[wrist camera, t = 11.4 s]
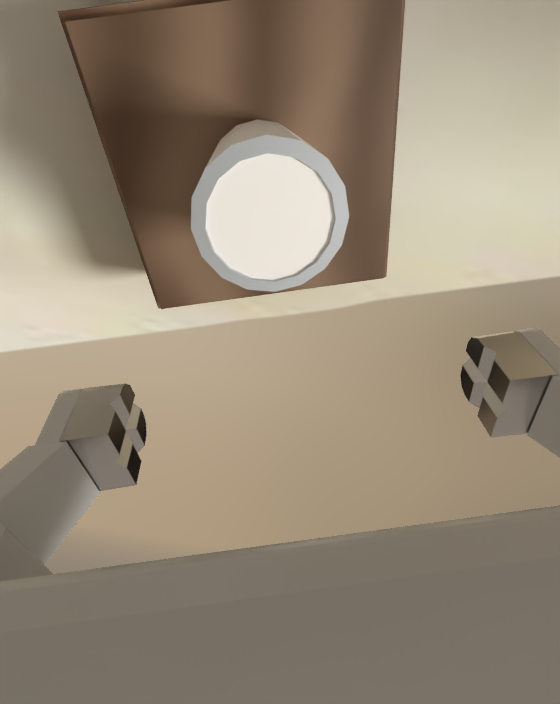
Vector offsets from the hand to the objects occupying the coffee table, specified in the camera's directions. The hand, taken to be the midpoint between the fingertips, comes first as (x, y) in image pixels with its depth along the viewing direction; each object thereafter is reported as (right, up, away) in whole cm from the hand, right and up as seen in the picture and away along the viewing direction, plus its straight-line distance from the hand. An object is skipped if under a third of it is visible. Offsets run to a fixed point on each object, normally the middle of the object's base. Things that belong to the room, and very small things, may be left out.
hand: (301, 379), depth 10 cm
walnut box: (-2, +14, +18) cm, 23 cm away
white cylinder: (-2, +11, +13) cm, 17 cm away
